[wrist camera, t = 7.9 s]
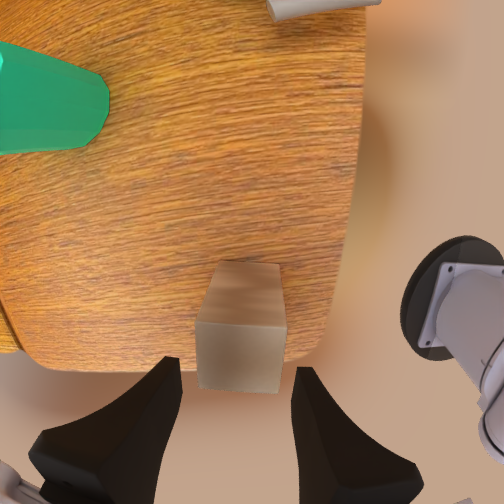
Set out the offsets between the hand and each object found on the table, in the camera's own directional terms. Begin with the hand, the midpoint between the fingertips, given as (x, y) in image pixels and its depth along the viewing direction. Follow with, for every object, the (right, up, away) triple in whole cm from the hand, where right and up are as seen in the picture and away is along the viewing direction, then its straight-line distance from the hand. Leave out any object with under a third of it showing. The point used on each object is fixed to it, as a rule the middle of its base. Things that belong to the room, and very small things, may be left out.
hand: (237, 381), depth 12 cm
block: (0, +3, +9) cm, 9 cm away
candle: (-12, +16, +5) cm, 20 cm away
